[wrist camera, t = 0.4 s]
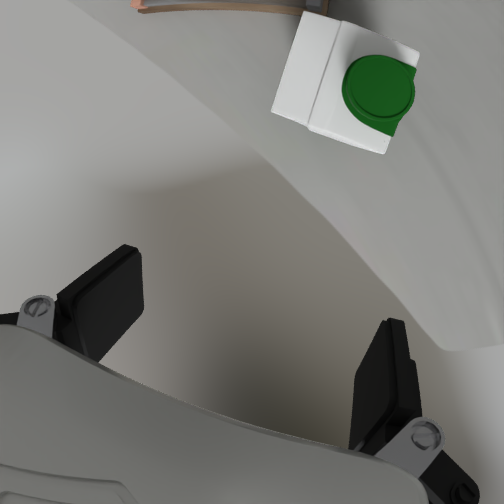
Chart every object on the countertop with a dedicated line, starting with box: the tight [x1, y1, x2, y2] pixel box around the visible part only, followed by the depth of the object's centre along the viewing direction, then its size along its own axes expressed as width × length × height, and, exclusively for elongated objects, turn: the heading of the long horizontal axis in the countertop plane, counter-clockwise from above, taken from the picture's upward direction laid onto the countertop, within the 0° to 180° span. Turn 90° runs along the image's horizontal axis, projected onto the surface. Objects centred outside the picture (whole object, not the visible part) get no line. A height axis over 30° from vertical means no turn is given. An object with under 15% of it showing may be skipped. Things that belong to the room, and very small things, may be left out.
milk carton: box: [271, 11, 420, 154], centre depth 24 cm, size 9×9×20 cm
